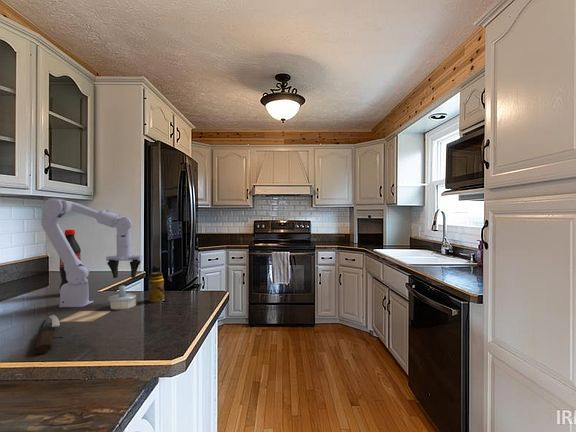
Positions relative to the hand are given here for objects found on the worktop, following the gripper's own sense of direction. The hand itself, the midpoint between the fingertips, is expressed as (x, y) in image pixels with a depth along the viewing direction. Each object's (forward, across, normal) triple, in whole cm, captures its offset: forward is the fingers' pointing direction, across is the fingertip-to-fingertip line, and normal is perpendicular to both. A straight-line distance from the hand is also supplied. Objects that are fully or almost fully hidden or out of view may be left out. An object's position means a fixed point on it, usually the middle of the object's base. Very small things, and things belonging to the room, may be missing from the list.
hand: (124, 277), depth 141 cm
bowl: (+10, +4, -9) cm, 14 cm away
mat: (+10, -3, -22) cm, 24 cm away
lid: (+6, +4, -10) cm, 12 cm away
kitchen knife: (+10, -4, -38) cm, 39 cm away
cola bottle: (+10, -32, +13) cm, 36 cm away
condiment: (+10, +13, -1) cm, 17 cm away
